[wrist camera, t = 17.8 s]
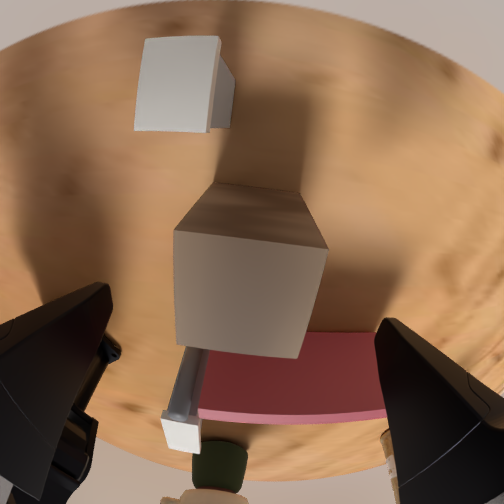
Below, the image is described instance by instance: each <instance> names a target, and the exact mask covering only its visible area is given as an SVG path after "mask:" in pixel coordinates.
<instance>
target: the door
mask: <svg viewBox="0 0 504 504" xmlns="http://www.w3.org/2000/svg"><path fill="white" fill-rule="evenodd" d="M375 335H376V332H370V333H333V332H306V333H305V336H304V340H303V343H302V346H301V349H300V352H299V355H298V358H297V359H293V358H279V357H267V356H257V355H248V354H239V353H231V352H223V351H216V350H210V352H209V357H208V362H207V366H206V371H205V376H204V381H203V386H202V390H201V395H200V400H199V405H198V413H199V418H202V419H209V420H218V421H228V422H240V423H255V424H327V423H342V422H353V421H363V420H371V419H379V418H386V417H387V414H386V409H385V404H384V399H383V395H382V390H381V386H380V381H379V375H378V367H377V360H376V352H375V346H374V338H375Z"/></svg>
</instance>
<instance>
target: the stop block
mask: <svg viewBox="0 0 504 504" xmlns="http://www.w3.org/2000/svg"><path fill="white" fill-rule="evenodd" d="M328 251H329V249H328V247H327V245H326V243H325V241H324V239H323V237H322V235H321V233H320V231H319V229H318V227H317V225H316V223H315V221H314V219H313V217H312V215H311V213H310V211H309V210H308V208H307V206H306V204H305V202H304V200H303V198H302V196H301V195H300V193H294V192H288V191H281V190H274V189H266V188H258V187H250V186H242V185H233V184H224V183H215V182H213V183H212V184H211V185H210V187H209V188H208V189H207V190H206V191H205V193H204V194H203V195H202V196H201V197H200V198H199V200H198V201H197V202H196V203H195V204H194V206H193V207H192V208H191V209H190V210H189V212H188V213H187V214H186V215H185V217H184V218H183V219H182V220H181V221H180V223H179V224H178V225H177V226H176V228H175V229H174V241H173V260H174V304H175V326H176V342H177V344H178V345H184V346H189V347H196V348H202V349H209V350H216V351H223V352H231V353H239V354H248V355H257V356H267V357H279V358H293V359H297V358H298V355H299V352H300V349H301V346H302V343H303V340H304V336H305V333H306V330H307V327H308V324H309V320H310V317H311V314H312V310H313V307H314V303H315V300H316V296H317V293H318V289H319V285H320V282H321V278H322V274H323V271H324V267H325V263H326V259H327V255H328Z"/></svg>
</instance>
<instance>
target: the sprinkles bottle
mask: <svg viewBox="0 0 504 504" xmlns="http://www.w3.org/2000/svg"><path fill="white" fill-rule="evenodd" d="M380 442H381V444H382V446H383V450H384V453H385V458H386V464H387V468H388V471H389V475H390V479H391V484H392V488H393V491H394V495H395V500H396V504H400V500H399V491H398V488H399V487H398V481H397V473H396V466H395V459H394V452H393V446H392V440H391V434H390V430H388V431H387V432H386V433H384V434H383V435H382V436H381V438H380Z"/></svg>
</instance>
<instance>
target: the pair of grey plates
mask: <svg viewBox="0 0 504 504" xmlns="http://www.w3.org/2000/svg"><path fill="white" fill-rule="evenodd" d="M221 43H222V42H221V40H220V38H219V36H173V37H159V38H148V39H145V44H144V50H143V56H142V62H141V68H140V75H139V83H138V91H137V100H136V111H135V122H134V131H177V132H197V133H210V128H230V122H231V114H232V106H233V98H234V90H235V82H236V80H235V79H234V77H233V75H232V74H231V72H230V70H229V69H228V67H227V65H226V64H225V62H224V60H223V59H222V57H221V55H220V50H221ZM209 352H210V350H209V349H202V348H196V347H189V346H186V349H185V352H184V355H183V358H182V362H181V365H180V368H179V372H178V375H177V378H176V382H175V385H174V388H173V392H172V395H171V399H170V402H169V406H168V409H167V410H163V412H162V415H161V422H162V426H163V429H164V433H165V437H166V440H167V443H168V447H169V448H170V449H175V450H179V451H185V452H190V453H196V454H200V451H201V434H200V432H201V426H202V420H203V419H202V418H199V413H198V405H199V400H200V395H201V390H202V386H203V381H204V376H205V371H206V366H207V362H208V357H209Z"/></svg>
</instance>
